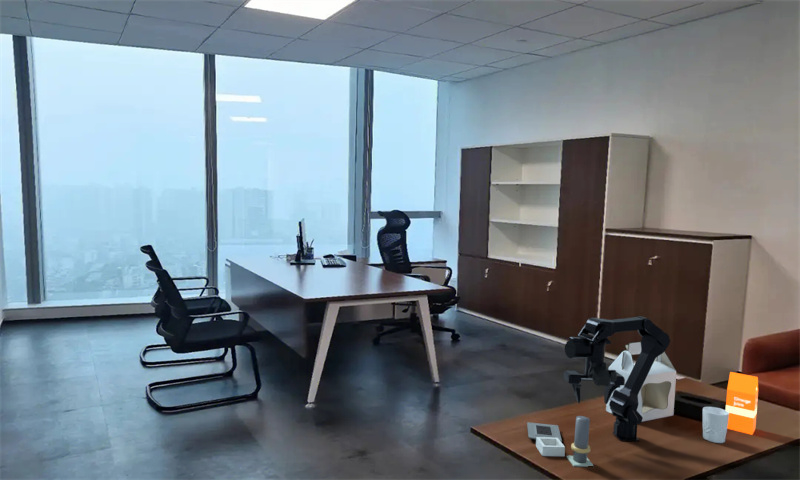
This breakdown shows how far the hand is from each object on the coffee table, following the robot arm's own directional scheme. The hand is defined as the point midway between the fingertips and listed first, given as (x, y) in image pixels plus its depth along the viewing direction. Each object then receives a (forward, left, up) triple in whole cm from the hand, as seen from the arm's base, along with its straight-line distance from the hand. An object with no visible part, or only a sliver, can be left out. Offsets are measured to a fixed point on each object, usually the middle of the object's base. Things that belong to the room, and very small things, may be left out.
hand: (592, 403), depth 182 cm
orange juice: (-61, -14, -13) cm, 64 cm away
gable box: (-30, -27, -13) cm, 43 cm away
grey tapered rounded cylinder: (+9, +15, -13) cm, 21 cm away
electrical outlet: (+14, -4, -14) cm, 20 cm away
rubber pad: (+9, +15, -13) cm, 22 cm away
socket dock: (+16, +8, -13) cm, 22 cm away
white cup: (-45, -4, -13) cm, 47 cm away
